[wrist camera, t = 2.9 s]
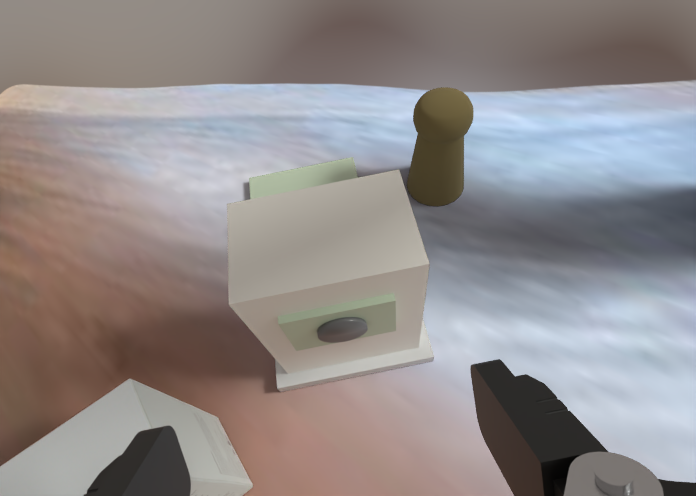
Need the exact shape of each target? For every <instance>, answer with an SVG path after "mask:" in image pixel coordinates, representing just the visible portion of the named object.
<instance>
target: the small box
mask: <svg viewBox="0 0 696 496" xmlns="http://www.w3.org/2000/svg"><path fill="white" fill-rule="evenodd" d="M168 425H169V426H171V427H173V429H174V430H175V432H176V435H177V438H178V441H179V444H180V447H181V450H182V453H183V456H184V459H185V462H186V465H187V468H188V471H189V474H190V479H191V491H190V496H243V495H244V494H245V493H246V492H247V491H248V490H250V489H251V488H252V487H253V484H252V482H251V481H250V479H249V477H248V475H247V473H246V471H245V469H244V467H243V465H242V463H241V462H240V460H239V458H238V456H237V454H236V452H235V450H234V448H233V446H232V444H231V443H230V441H229V439H228V437H227V435H226V433H225V431H224V429H223V427H222V425H221V423H220V421H219V419H218V417H216V416H214V415H212V414H209V413H207V412H205V411H203V410H201V409H198V408H196V407H194V406H192V405H190V404H187V403H185V402H182V401H180V400H178V399H176V398H173V397H171V396H169V395H167V394H165V393H162V392H160V391H158V390H155V389H153V388H151V387H149V386H146V385H144V384H142V383H140V382H137V381H135V380H132V379H130V378H129V379H127V380H125V381H124V382H123V383H121V384H120V385H118V386H117V387H115V388H114V389H112V390H111V391H109V392H108V393H106V394H105V395H104V396H102V397H101V398H99V399H98V400H96V401H95V402H93V403H92V404H90V405H89V406H87V407H86V408H84V409H83V410H82V411H80V412H79V413H77V414H76V415H74V416H73V417H71V418H70V419H68V420H67V421H65V422H64V423H62V424H61V425H60V426H58V427H57V428H55V429H54V430H52V431H51V432H49V433H48V434H46V435H45V436H43V437H42V438H40V439H39V440H38V441H36V442H35V443H33V444H32V445H30V446H29V447H27V448H26V449H24V450H23V451H22V452H20V453H19V454H17V455H16V456H14V457H13V458H11V459H10V460H8V461H7V462H5V463H4V464H2V465H1V466H0V496H83V495H84V494H87V490H88V488H89V487H90V486H91V484H92V483H93V481H94V480H95V479H96V477H97V476H98V475H99V473H100V472H101V471H102V470H103V469H105V468H106V467H107V466H108V465H109V464H110V463H111V462H113V461H114V460H115V459H116V458H117V457H118V456H120V455H122V454H123V453H124V451H125V450H126V448H127V447H128V446H129V444H130V443H131V441H132V440H133V438H134V437H135V436H136V434H137V433H138V432H140V431H143V430H148V429H153V428H158V427H163V426H168Z"/></svg>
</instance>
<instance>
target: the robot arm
mask: <svg viewBox="0 0 696 496" xmlns="http://www.w3.org/2000/svg"><path fill="white" fill-rule="evenodd" d="M471 378H472V385H473V391H474V398H475V405H476V412H477V418H478V423H479V426H480V430H481V433H482V435H483V438H484V440H485V442H486V444H487V446H488V448H489V450H490V452H491V454H492V455H493V457H494V459H495V461H496V463H497V465H498V466H499V468H500V470H501V472H502V474H503V476H504V478H505V479H506V481H507V483H508V485H509V487H510V489H511V491H512V492H513V494H514V496H696V483H689V482H674V481H665V480H660V479H657V477H656V476H655V475H654V474H653V473H652V472H651V471H650V470H649V469H647V468H646V467H645V466H643V465H642V464H640V463H639V462H637V461H635V460H633V459H631V458H628V457H625V456H623V455H619V454H615V453H610V452H608V451H607V450H606V449H605V448H604V447H603V446H602V445H601V443H600V442H599V441H598V440H597V439H596V438H595V437H594V436H593V435H592V434H591V433H590V432H589V431H588V430H587V429H586V428H585V426H584V425H583V424H582V423H581V422H580V421H579V420H578V419H577V418H576V417H575V416H574V415H573V414H572V413H571V412H570V411H568V409H567V407H566V406H565V405H564V404H563V403H562V402H561V401H560V400H558V399H557V397H556V396H555V395H554V393H553V392H552V391H551V390H550V389H549V388H548V387H547V386H546V385H545V384H544V383H542V382H540V381H538V380H536V379H534V378H532V377H530V376H528V375H526V374H525V375H520V376H516V377H515V376H514V375H513V374H512V373H511V371H510V370H509V369H508V368H507V367H506V365H505V364H504V363H503V362H502V361H501V360H500V359H498V360H493V361H488V362H483V363H478V364H473V365H471ZM190 491H191V479H190V474H189V471H188V468H187V465H186V462H185V459H184V456H183V453H182V450H181V447H180V444H179V441H178V438H177V435H176V432H175V430H174V429H173V427H171V426H169V425H168V426H163V427H158V428H153V429H148V430H143V431H140V432H138V433H137V434H136V436H135V437H134V438H133V440H132V441H131V443H130V444H129V446H128V447H127V448H126V450H125V451H124V453H123V454H122V455H120V456H118V457H117V458H116V459H115V460H114V461H113V462H111V463H110V464H109V465H108V466H107V467H106V468H105V469H103V470H102V471H101V472H100V473H99V475H98V476H97V477H96V479H95V480H94V481H93V483H92V484H91V486H90V487H89V488H88V490H87V494H84V495H83V496H190Z"/></svg>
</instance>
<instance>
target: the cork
mask: <svg viewBox="0 0 696 496" xmlns="http://www.w3.org/2000/svg"><path fill="white" fill-rule="evenodd" d="M413 121H414V125H415V128H416V131H417V132H418V135H417V140H416V144H415V149H414V153H413V158H412V162H411V167H410V171H409V175H408V181H407V188H408V191H409V193H410V195H411V196H412V197H413V198H414V199H415V200H417V201H418V202H420V203H422V204H425V205H428V206H442V205H447V204H449V203H452V202H454V201H455V200H456V199H457V198H458V197H459V196H460V195H461V193H462V191H463V186H464V135H465V134H466V133H467V131H468V130H469V128H470V126H471V124H472V121H473V106H472V103H471V101H470V100H469V98H468V96H466V95H465V94H464V93H463V92H461V91H459V90H457V89H453V88H436V89H433V90H430V91H428V92H426V93H425V94H424V95H423V96H422V97H421V98H420V99H419V100H418V102H417V104H416V106H415V109H414V115H413Z"/></svg>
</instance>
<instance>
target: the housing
mask: <svg viewBox="0 0 696 496" xmlns="http://www.w3.org/2000/svg"><path fill="white" fill-rule="evenodd" d="M227 221H228V300H229V306H230V307H231V308H232V309H233V310H234V311H235V313H236V314H237V315H238V316H239V317H240V318H241V320H242V321H243V322H244V323H245V324H246V325H247V327H248V328H249V329H250V330H251V331H252V332H253V334H254V335H255V336H256V337H257V338H258V339H259V341H260V342H261V343H262V344H263V345H264V346H265V348H266V349H267V350H268V351H269V352H270V353H271V355H272V356H273V357H274V358H275V366H276V380H277V389H278V390H279V391H280V392H283V391H288V390H293V389H298V388H303V387H308V386H313V385H318V384H323V383H328V382H333V381H337V380H342V379H347V378H352V377H357V376H362V375H367V374H372V373H377V372H382V371H387V370H392V369H397V368H402V367H407V366H412V365H417V364H421V363H426V362H431V361H433V359H434V355H433V351H432V348H431V344H430V341H429V338H428V334H427V331H426V327H425V324H424V320H423V311H424V304H425V296H426V288H427V281H428V273H429V265H430V263H429V260H428V257H427V254H426V251H425V248H424V245H423V242H422V239H421V236H420V233H419V229H418V226H417V223H416V220H415V217H414V214H413V211H412V208H411V205H410V202H409V199H408V196H407V192H406V189H405V186H404V183H403V180H402V177H401V174H400V171H399V169H398V170H394V171H389V172H384V173H379V174H374V175H369V176H364V177H359V178H354V179H349V180H344V181H339V182H334V183H329V184H324V185H319V186H314V187H309V188H304V189H299V190H294V191H289V192H284V193H279V194H274V195H269V196H264V197H260V198H255V199H250V200H245V201H240V202H235V203H230V204H227Z"/></svg>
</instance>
